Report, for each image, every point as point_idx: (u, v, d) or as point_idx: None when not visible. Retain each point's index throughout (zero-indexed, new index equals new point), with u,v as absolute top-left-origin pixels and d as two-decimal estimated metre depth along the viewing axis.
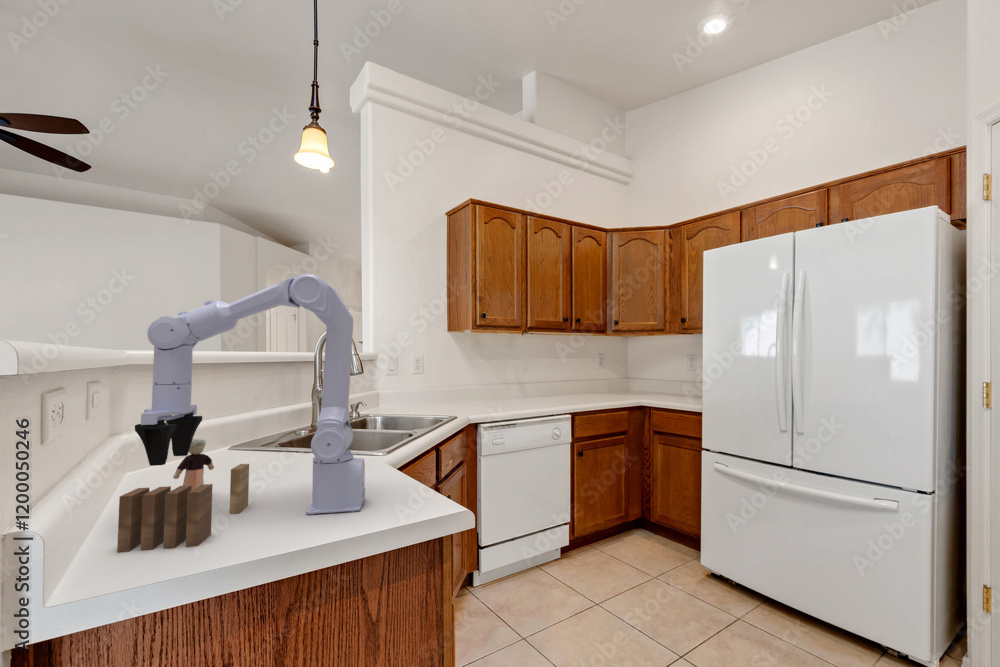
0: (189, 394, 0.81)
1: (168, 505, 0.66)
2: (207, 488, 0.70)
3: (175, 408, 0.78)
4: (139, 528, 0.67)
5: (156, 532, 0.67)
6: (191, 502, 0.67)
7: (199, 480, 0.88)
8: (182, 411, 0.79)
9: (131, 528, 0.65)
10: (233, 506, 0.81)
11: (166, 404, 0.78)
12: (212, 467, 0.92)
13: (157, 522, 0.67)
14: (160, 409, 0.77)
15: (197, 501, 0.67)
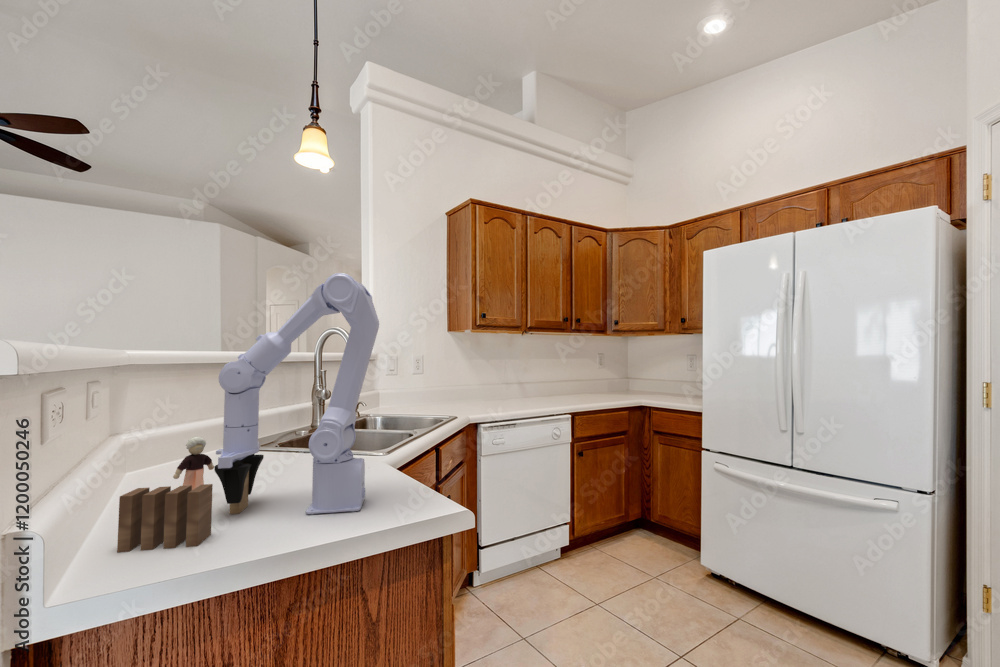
0: (257, 435, 0.84)
1: (168, 505, 0.66)
2: (207, 488, 0.70)
3: (246, 449, 0.82)
4: (139, 528, 0.67)
5: (156, 532, 0.67)
6: (191, 502, 0.67)
7: (199, 480, 0.88)
8: (252, 452, 0.82)
9: (131, 528, 0.65)
10: (233, 506, 0.81)
11: (237, 446, 0.81)
12: (212, 467, 0.92)
13: (157, 522, 0.67)
14: (232, 451, 0.81)
15: (198, 501, 0.67)
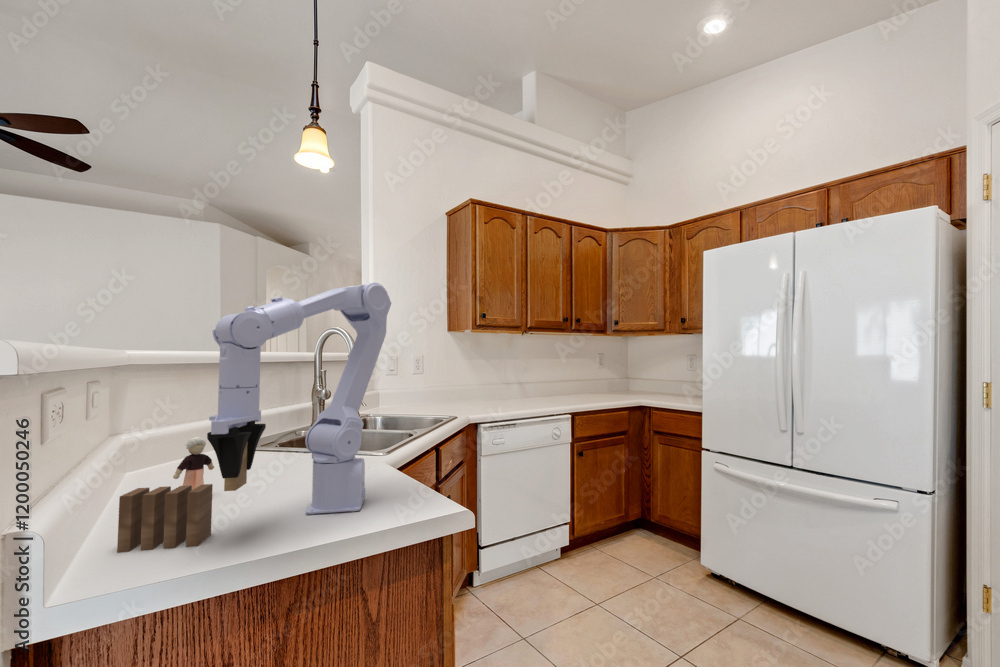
0: (258, 399, 0.72)
1: (168, 505, 0.66)
2: (207, 488, 0.70)
3: (245, 415, 0.69)
4: (139, 528, 0.67)
5: (156, 532, 0.67)
6: (191, 502, 0.67)
7: (199, 480, 0.88)
8: (252, 418, 0.70)
9: (131, 528, 0.65)
10: (228, 482, 0.68)
11: (235, 410, 0.68)
12: (212, 467, 0.92)
13: (157, 522, 0.67)
14: (228, 416, 0.68)
15: (198, 501, 0.67)
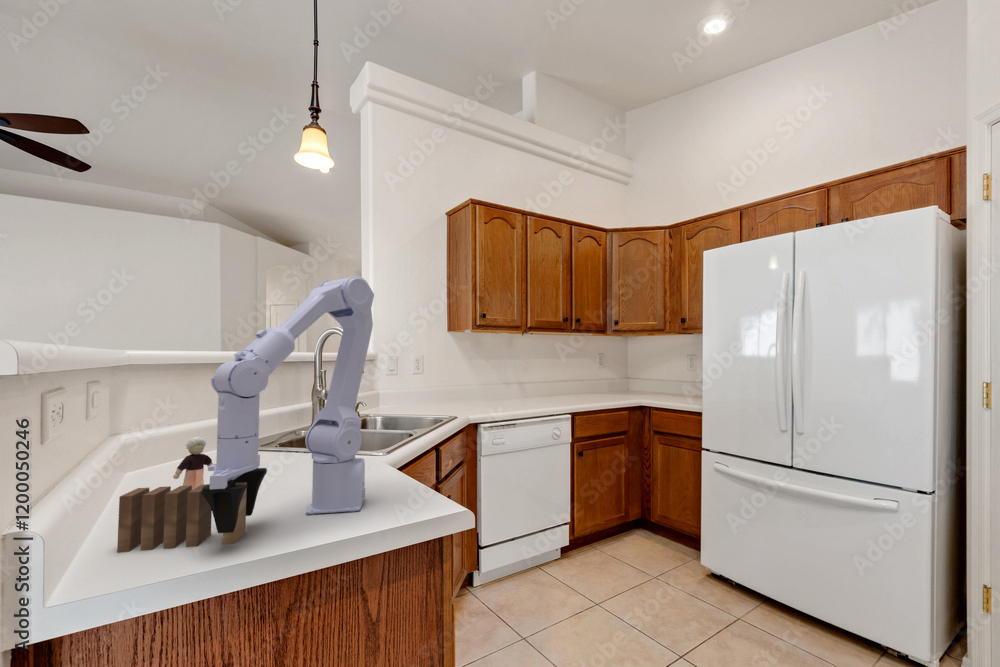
0: (257, 447, 0.71)
1: (168, 505, 0.66)
2: None
3: (243, 465, 0.68)
4: (139, 528, 0.67)
5: (156, 532, 0.67)
6: (191, 502, 0.67)
7: (199, 480, 0.88)
8: (251, 468, 0.69)
9: (131, 528, 0.65)
10: (227, 534, 0.67)
11: (234, 461, 0.68)
12: None
13: (157, 522, 0.67)
14: (227, 467, 0.67)
15: (197, 501, 0.67)
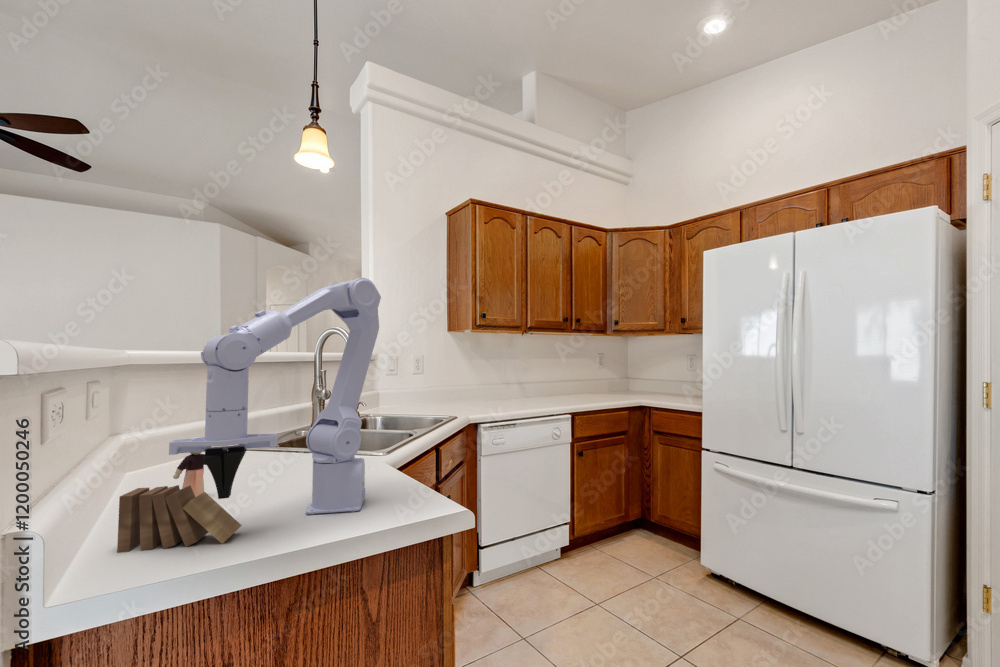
0: (223, 424, 0.68)
1: (157, 506, 0.66)
2: (185, 489, 0.69)
3: (206, 439, 0.68)
4: (139, 528, 0.67)
5: (156, 531, 0.67)
6: (172, 505, 0.66)
7: (199, 480, 0.88)
8: (209, 443, 0.67)
9: (131, 528, 0.65)
10: (218, 535, 0.67)
11: (205, 433, 0.69)
12: None
13: (156, 522, 0.67)
14: None
15: (178, 502, 0.67)
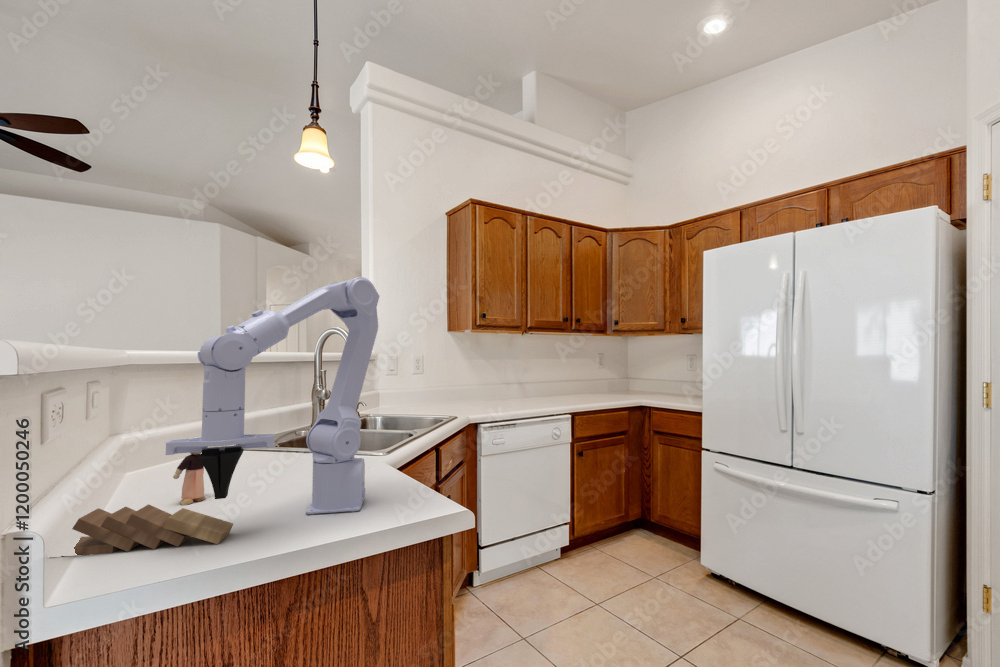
0: (219, 424, 0.68)
1: (114, 528, 0.65)
2: (143, 508, 0.68)
3: (203, 439, 0.68)
4: None
5: None
6: (137, 524, 0.65)
7: (199, 480, 0.88)
8: (206, 444, 0.67)
9: (89, 545, 0.64)
10: (210, 537, 0.67)
11: None
12: None
13: None
14: None
15: (140, 519, 0.65)
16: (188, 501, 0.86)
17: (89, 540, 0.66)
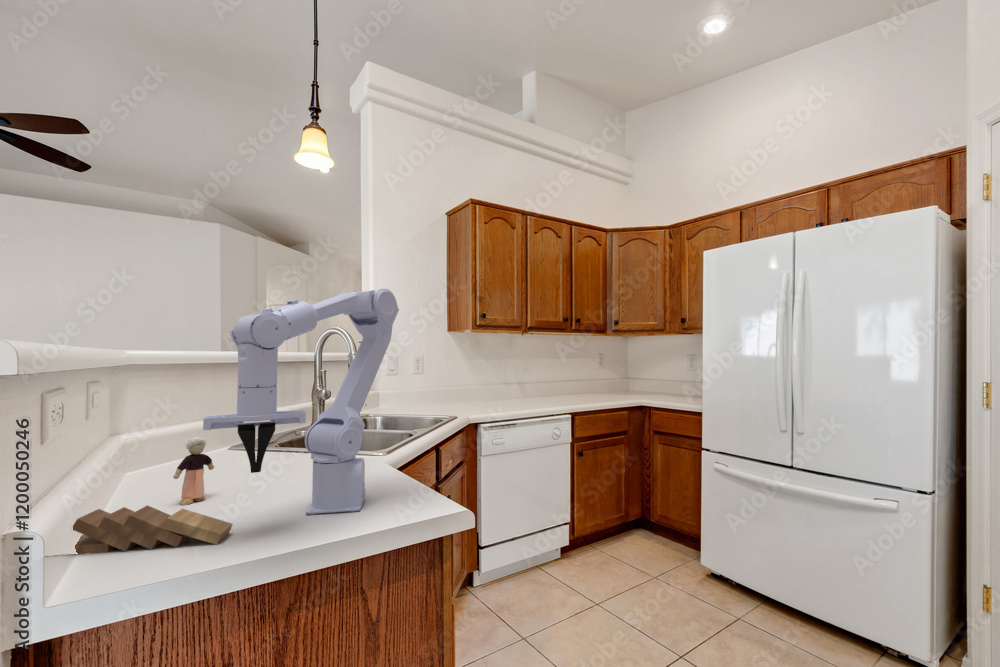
0: (257, 400, 0.70)
1: (111, 528, 0.65)
2: (142, 509, 0.68)
3: (240, 414, 0.70)
4: None
5: None
6: (135, 525, 0.65)
7: (199, 480, 0.88)
8: (244, 419, 0.69)
9: (85, 543, 0.65)
10: (209, 537, 0.67)
11: (237, 409, 0.71)
12: (212, 467, 0.92)
13: None
14: (236, 414, 0.71)
15: (138, 520, 0.65)
16: (188, 501, 0.86)
17: (86, 538, 0.66)
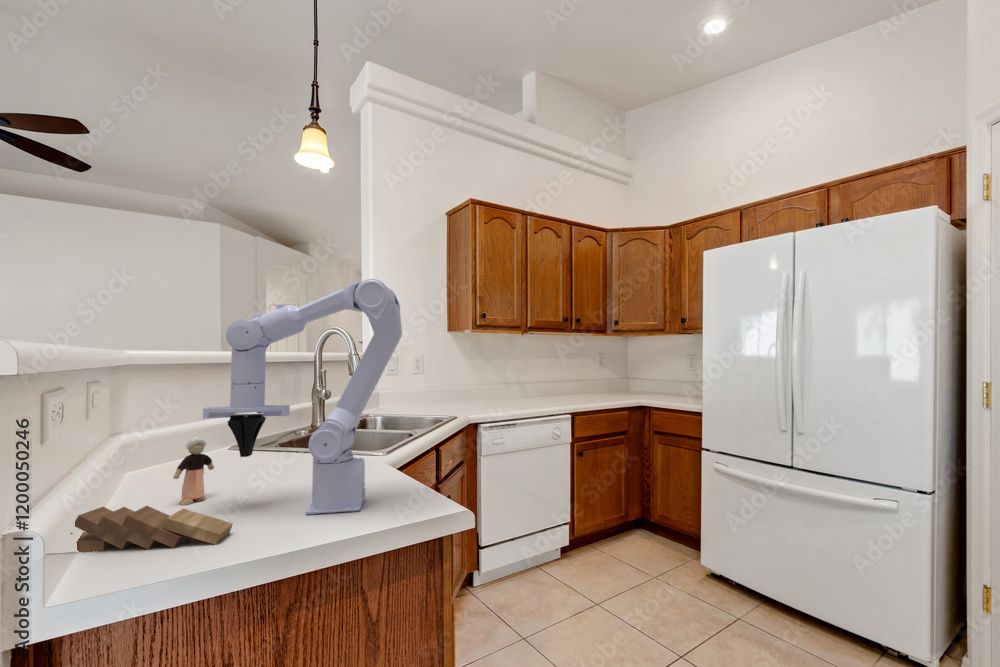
0: (242, 394, 0.82)
1: (109, 528, 0.65)
2: (140, 509, 0.68)
3: (230, 406, 0.82)
4: None
5: None
6: (133, 526, 0.65)
7: (199, 480, 0.88)
8: (232, 410, 0.81)
9: (82, 541, 0.65)
10: (208, 537, 0.67)
11: None
12: (212, 467, 0.92)
13: None
14: None
15: (136, 520, 0.65)
16: (188, 501, 0.86)
17: (84, 536, 0.67)
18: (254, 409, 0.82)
